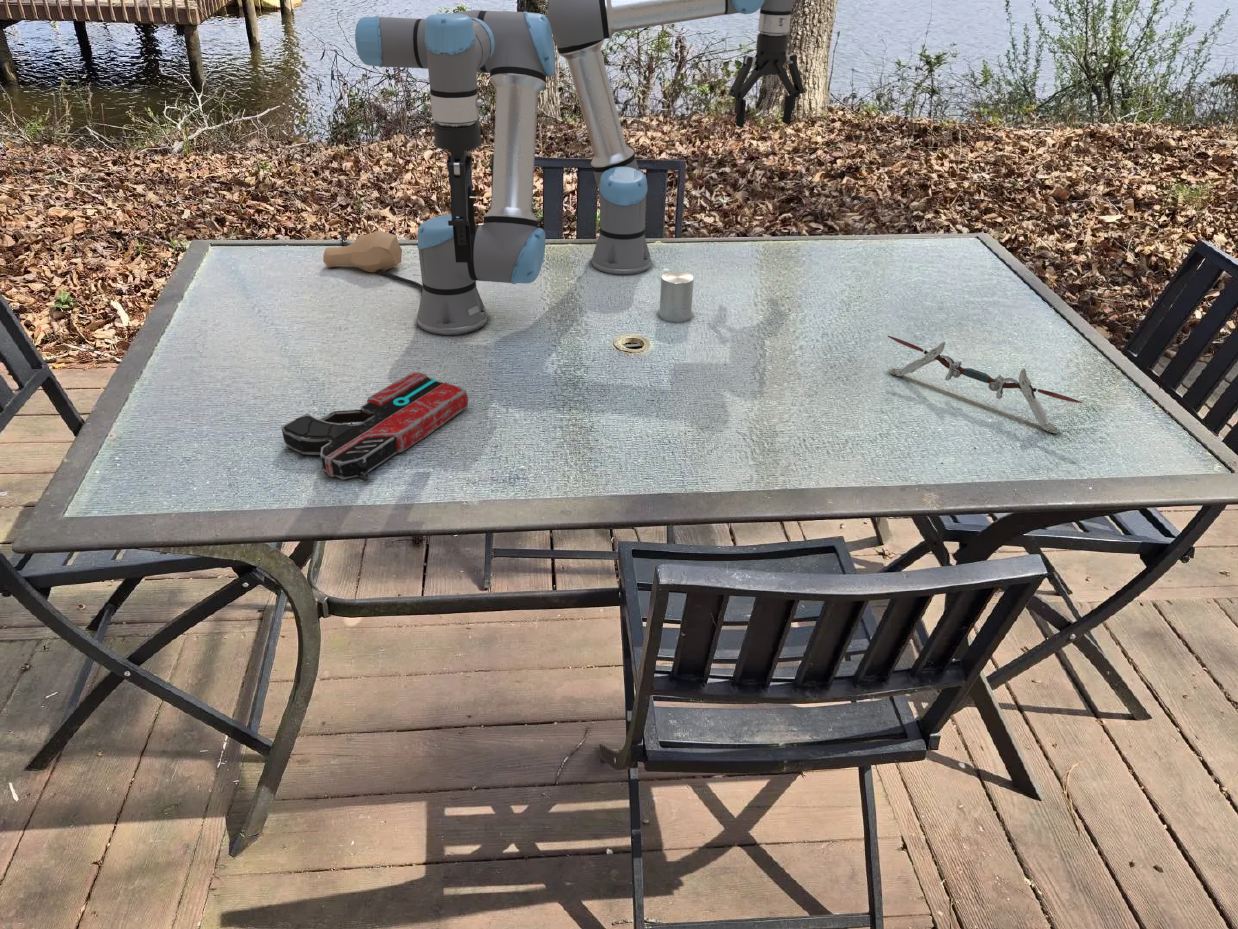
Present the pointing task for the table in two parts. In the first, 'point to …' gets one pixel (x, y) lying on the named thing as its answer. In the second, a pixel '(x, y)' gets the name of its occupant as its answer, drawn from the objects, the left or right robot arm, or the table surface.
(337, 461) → the gun
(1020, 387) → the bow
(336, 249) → the squash
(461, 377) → the table surface
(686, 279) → the tin
